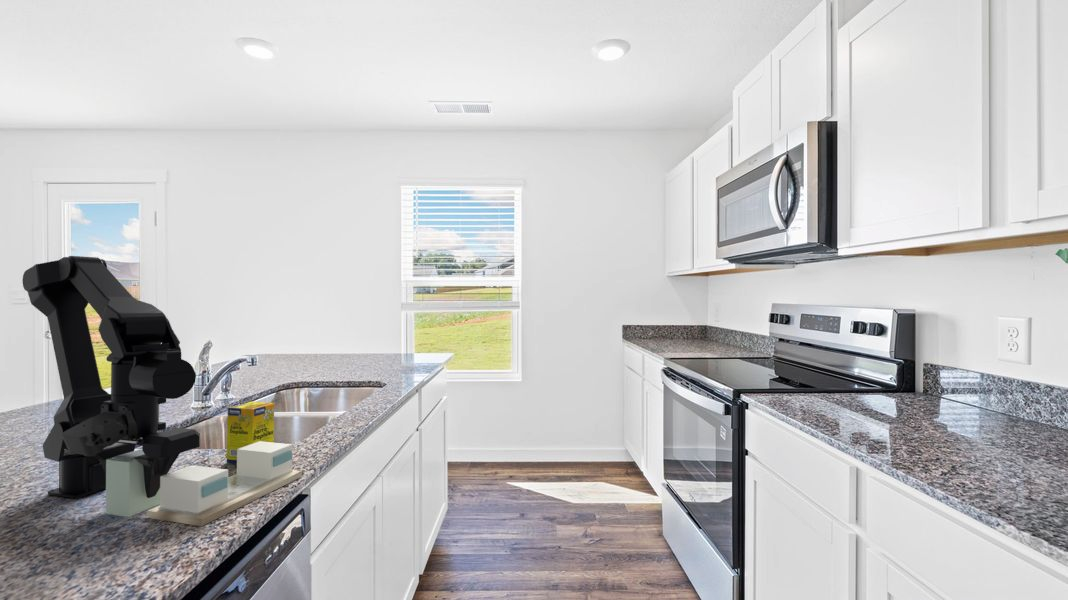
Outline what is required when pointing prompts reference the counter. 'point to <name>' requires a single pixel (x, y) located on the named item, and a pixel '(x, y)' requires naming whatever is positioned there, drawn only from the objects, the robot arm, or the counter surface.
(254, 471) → the mounted modules
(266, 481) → the grey flat piece
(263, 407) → the supplement box
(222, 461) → the counter surface
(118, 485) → the loose module
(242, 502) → the mounting panel
